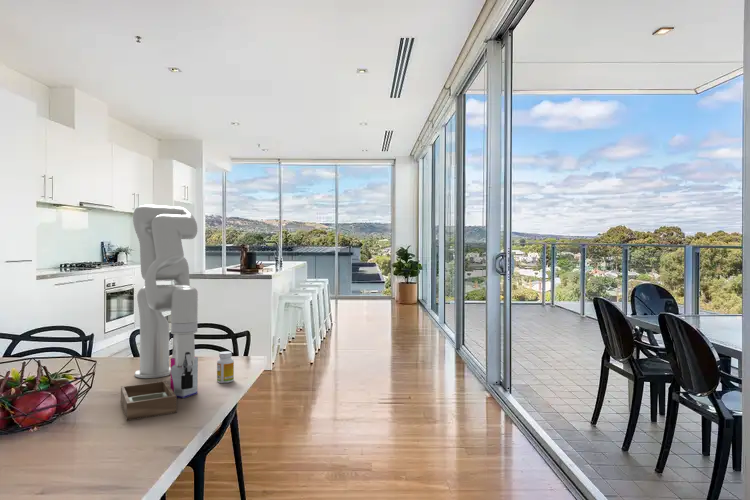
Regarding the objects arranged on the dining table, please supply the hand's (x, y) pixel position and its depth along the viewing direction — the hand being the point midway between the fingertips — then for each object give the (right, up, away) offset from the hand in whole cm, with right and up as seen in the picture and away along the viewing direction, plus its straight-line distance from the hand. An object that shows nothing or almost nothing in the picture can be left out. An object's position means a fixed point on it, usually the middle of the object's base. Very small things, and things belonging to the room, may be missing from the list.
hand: (184, 384), depth 148 cm
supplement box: (0, -3, 0) cm, 3 cm away
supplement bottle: (+8, -3, +16) cm, 18 cm away
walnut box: (-6, -3, -12) cm, 13 cm away
